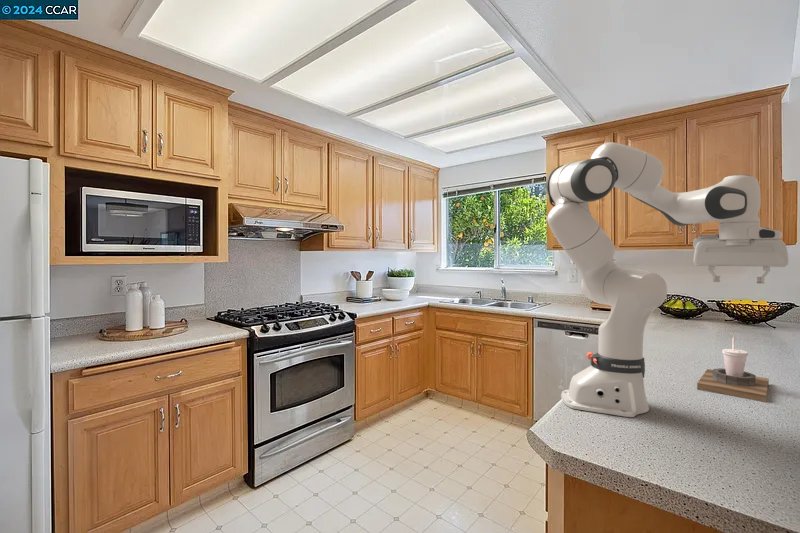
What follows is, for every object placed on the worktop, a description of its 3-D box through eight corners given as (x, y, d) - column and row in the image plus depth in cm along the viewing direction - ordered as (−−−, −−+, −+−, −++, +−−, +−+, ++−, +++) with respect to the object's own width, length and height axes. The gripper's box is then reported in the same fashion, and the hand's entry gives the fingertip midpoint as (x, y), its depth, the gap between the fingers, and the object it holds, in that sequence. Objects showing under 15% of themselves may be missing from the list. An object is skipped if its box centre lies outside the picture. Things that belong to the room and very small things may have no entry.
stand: (766, 402, 113) (766, 386, 113) (697, 389, 124) (697, 375, 124) (768, 384, 128) (768, 370, 128) (707, 374, 140) (707, 361, 140)
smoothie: (737, 377, 129) (738, 335, 129) (752, 384, 123) (753, 339, 122) (716, 377, 130) (717, 335, 129) (731, 383, 123) (731, 339, 123)
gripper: (691, 234, 115) (690, 281, 115) (789, 231, 101) (788, 284, 101) (694, 235, 120) (694, 280, 120) (789, 232, 105) (787, 283, 105)
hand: (737, 282), depth 110 cm, fingers open, 8 cm apart
